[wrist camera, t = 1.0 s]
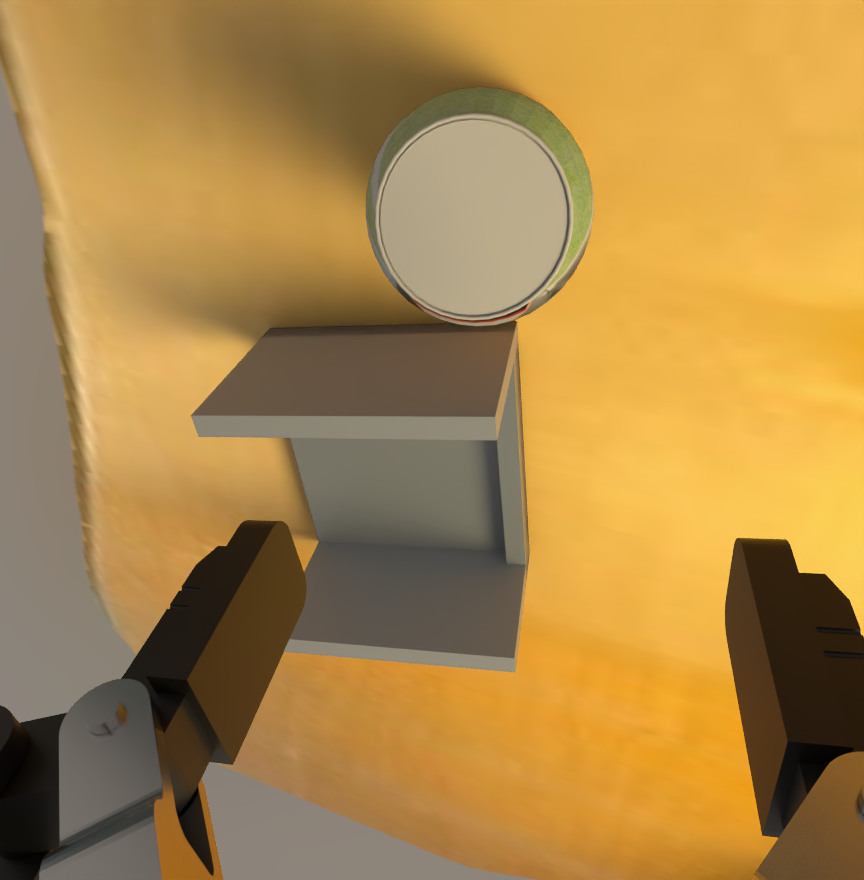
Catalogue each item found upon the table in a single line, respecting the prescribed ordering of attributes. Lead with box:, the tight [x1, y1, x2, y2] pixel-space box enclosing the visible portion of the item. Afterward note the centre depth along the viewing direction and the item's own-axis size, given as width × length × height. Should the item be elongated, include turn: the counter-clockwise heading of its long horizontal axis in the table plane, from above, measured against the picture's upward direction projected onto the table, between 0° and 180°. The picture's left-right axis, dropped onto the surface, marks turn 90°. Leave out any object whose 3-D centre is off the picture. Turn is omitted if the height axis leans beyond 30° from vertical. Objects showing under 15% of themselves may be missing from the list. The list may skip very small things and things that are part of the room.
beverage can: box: [366, 87, 593, 326], centre depth 22 cm, size 6×7×12 cm
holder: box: [191, 322, 529, 673], centre depth 32 cm, size 14×12×8 cm
